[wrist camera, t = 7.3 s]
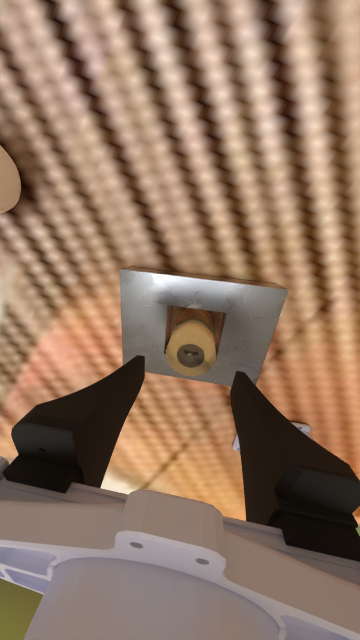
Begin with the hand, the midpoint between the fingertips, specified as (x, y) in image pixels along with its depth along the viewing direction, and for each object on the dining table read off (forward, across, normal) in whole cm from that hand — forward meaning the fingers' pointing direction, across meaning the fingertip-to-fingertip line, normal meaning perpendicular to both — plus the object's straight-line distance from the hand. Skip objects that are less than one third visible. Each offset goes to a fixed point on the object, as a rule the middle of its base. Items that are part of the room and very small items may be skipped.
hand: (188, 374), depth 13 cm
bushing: (+9, 0, 0) cm, 9 cm away
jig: (+9, 0, 0) cm, 9 cm away
